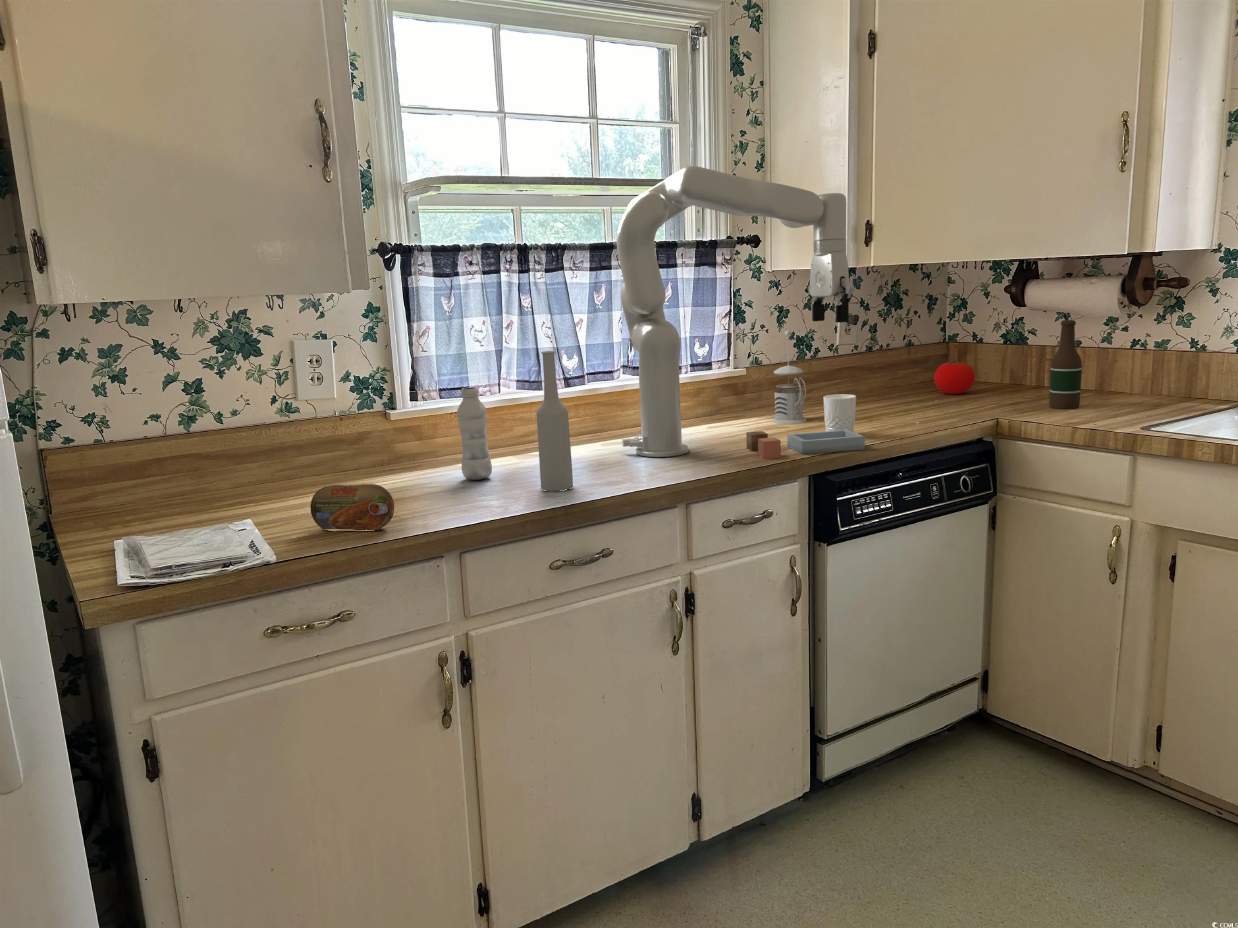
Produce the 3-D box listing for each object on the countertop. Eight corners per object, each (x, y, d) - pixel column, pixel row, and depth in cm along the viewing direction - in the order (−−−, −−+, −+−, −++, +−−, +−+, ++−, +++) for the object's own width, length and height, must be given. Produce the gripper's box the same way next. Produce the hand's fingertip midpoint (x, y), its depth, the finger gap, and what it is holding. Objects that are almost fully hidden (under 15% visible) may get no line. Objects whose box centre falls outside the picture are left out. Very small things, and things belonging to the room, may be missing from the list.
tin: (312, 532, 162) (306, 486, 160) (320, 527, 165) (315, 482, 163) (391, 532, 159) (386, 485, 158) (398, 527, 162) (394, 481, 161)
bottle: (552, 493, 182) (542, 353, 176) (535, 488, 187) (525, 352, 181) (579, 487, 185) (571, 350, 180) (562, 482, 191) (553, 349, 185)
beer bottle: (1081, 405, 253) (1086, 319, 249) (1077, 410, 247) (1082, 321, 242) (1050, 405, 258) (1054, 319, 253) (1046, 409, 251) (1050, 321, 246)
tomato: (930, 392, 295) (931, 359, 292) (969, 390, 293) (970, 358, 291) (938, 396, 284) (939, 363, 282) (979, 395, 282) (980, 361, 280)
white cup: (856, 438, 223) (856, 398, 221) (823, 439, 224) (823, 399, 222) (855, 433, 230) (855, 393, 228) (823, 433, 232) (823, 394, 230)
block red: (763, 459, 205) (763, 441, 204) (758, 455, 209) (757, 438, 208) (780, 457, 205) (780, 440, 205) (774, 454, 209) (774, 437, 209)
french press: (792, 416, 260) (792, 328, 255) (818, 421, 250) (817, 330, 245) (764, 420, 256) (762, 331, 251) (788, 425, 246) (787, 332, 241)
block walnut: (751, 451, 214) (751, 435, 213) (746, 448, 217) (746, 432, 217) (768, 450, 214) (767, 433, 213) (762, 447, 218) (762, 431, 217)
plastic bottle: (479, 483, 194) (472, 390, 190) (456, 481, 197) (447, 389, 193) (499, 477, 199) (492, 386, 195) (475, 475, 203) (468, 386, 199)
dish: (802, 454, 207) (802, 441, 207) (787, 446, 217) (787, 434, 216) (864, 449, 209) (864, 436, 209) (846, 441, 219) (846, 429, 219)
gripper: (796, 250, 220) (796, 321, 224) (838, 247, 204) (838, 323, 208) (822, 249, 223) (822, 319, 226) (865, 245, 207) (865, 321, 211)
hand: (830, 321), depth 217 cm, fingers open, 9 cm apart
